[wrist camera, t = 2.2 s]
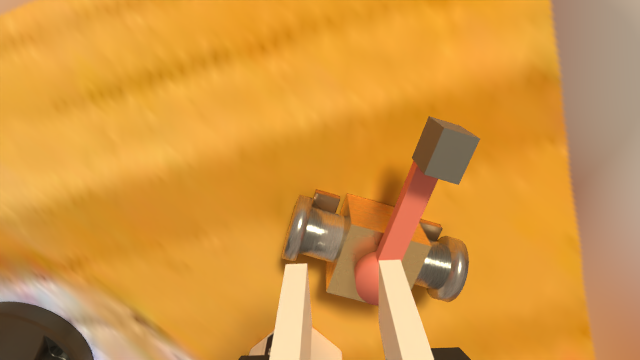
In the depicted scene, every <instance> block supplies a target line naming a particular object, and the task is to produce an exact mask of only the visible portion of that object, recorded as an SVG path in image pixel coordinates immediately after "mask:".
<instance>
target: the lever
mask: <svg viewBox="0 0 640 360" xmlns="http://www.w3.org/2000/svg"><path fill="white" fill-rule="evenodd" d="M479 140H480V138H478V137H476V136H475V135H473V134H472V133H470V132H469V131H467V130H466V129H464V128H463V127H461V126H459V125H455V124H452V123H449V122H446V121H442V120H439V119H436V118H433V117H430V116H429V117H428V120H427V122H426V125H425V127H424V130H423V132H422V135H421V137H420V139H419V142H418V144H417V147H416V149H415V152H414V154H413V157H412V159H413V160H414V161H413V164H412V166H411V169H410V171H409V173H408V176H407V178H406V181H405V183H404V186H403V188H402V190H401V193H400V195H399V198H398V200H397V203H396V205H395V207H394V210H393V212H392V215H391V217H390V220H389V222H388V225H387V227H386V229H385V232H384V234H383V237H382V239H381V242H380V244H379V246H378V249H377V251H376V252H372V253H369V254H367V255H365V256H363V257H362V258H361V259H360V260H359V261H358V262H357V264H356V266H355V270H354V275H355V283H356V290H357V293H358V295H359V296H360V297H361V299H363V300H364V301H365V302H367V303H369V304H372V305H379V260H401V262H402V259H403V257H404V255H405V253H406V250H407V248H408V246H409V243H410V241H411V239H412V237H413V234H414V232H415V230H416V228H417V225H418V223H419V221H420V219H421V216H422V214H423V212H424V210H425V207H426V205H427V203H428V201H429V198H430V196H431V194H432V192H433V189H434V187H435V185H436V183H437V180H438V179H441V180H444V181H448V182H451V183H454V184H458V185H459V183H460V181H461V179H462V176H463V174H464V172H465V170H466V168H467V166H468V164H469V161H470V159H471V157H472V155H473V153H474V151H475V149H476V146H477V144H478V142H479Z"/></svg>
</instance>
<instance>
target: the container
mask: <svg viewBox="0 0 640 360" xmlns="http://www.w3.org/2000/svg"><path fill="white" fill-rule="evenodd" d="M273 335H274V331H273V332H271V333H270V334H269V335H268V336H266V337H265V338H264V339H263V340H261V341H260V342H259V343H258V344H256V345H255V346H254V347H253V348H252V349H251V350H250V353H249V356H250V355H270V353H271V347H272V341H273ZM310 360H342V352H341V350H340V349H339V348H338V347H336V346H335V345H334V344H333V343H331V342H330V341H329V340H328V339H326V338H325V337H324V336H323V335H322V334H320V333H319V332H318V331H317V330H315V329H314V328H313V327H312V336H311V358H310Z"/></svg>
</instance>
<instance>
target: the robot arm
mask: <svg viewBox="0 0 640 360" xmlns="http://www.w3.org/2000/svg"><path fill="white" fill-rule="evenodd" d="M379 326H380V332H381V337H382V342H383V348H384V353H385V358H386V360H471V359H470V358H469V357H468V356H467V355H466V354H465V353H464V352H463V351H462V350H461V349H460V348H459V347H457V348H430V346H429V343H428V340H427V337H426V334H425V331H424V328H423V325H422V322H421V319H420V316H419V313H418V310H417V307H416V305H415V302H414V299H413V296H412V293H411V290H410V287H409V284H408V281H407V278H406V275H405V272H404V269H403V266H402V263H401V260H379ZM311 336H312V318H311V306H310V293H309V281H308V268H307V263H305V264H286V267H285V272H284V278H283V284H282V289H281V295H280V301H279V307H278V312H277V318H276V324H275V330H274V335H273V341H272V347H271V353H270V355H250V356H241V357H240V358H239V360H310V358H311ZM0 360H93V358H92V354H91V351H90V349H89V346H88V345H87V343H86V341H85V340H84V338H83V337H82V336H81V334H80V333H79V332H78V331H77V330H76V329H75V328H74V327H73V326H72V325H71V324H69V323H68V322H67V321H65V320H64V319H62V318H61V317H59V316H58V315H56V314H54V313H52V312H50V311H48V310H46V309H43V308H41V307H38V306H34V305H31V304H26V303H20V302H0Z"/></svg>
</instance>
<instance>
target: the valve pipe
mask: <svg viewBox="0 0 640 360" xmlns="http://www.w3.org/2000/svg"><path fill="white" fill-rule="evenodd" d="M339 201H340V196H338V195H334V194H331V193H327V192H324V191H320V190H316V192H315V195H314V198H313V201H312V198H309V197H306V196H302V195H299V197H298V199H297V202H296V205H295V208H294V211H293V215H292V218H291V221H290V225H289V228H288V232H287V236H286V240H285V244H284V248H283V253H282V258H283V259H287V260H290V261H294V262H295V261H296V259H297V257H298V254H303V255H307V256H310V257H314V258H318V259H322V260H325V261H326V292H327V293H331V294H335V295H339V296H343V297H346V298H350V299H354V300H358V301H362V302H365V301H364V300H363V299H361V297H360V296H359V295H358V293H357V290H356V283H355V275H354V270H355V266H356V264H357V262H358V261H359V260H360V259H361V258H362V257H363V256H365V255H367V254H369V253H372V252H376V251H377V249H378V246H379V244H380V242H381V239H382V237H383V234H384V232H385V229H386V227H387V225H388V222H389V220H390V217H391V215H392V212H393V210H394V206H390V205H387V204H383V203H380V202H376V201H373V200H369V199H366V198H362V197H359V196H355V195H352V194H348V193H347V195H346V198H345V201H344V204H343V206H342V209H341V212H340V215H338V214H335V212H336V210H337V207H338V204H339ZM442 229H443V228H442V227H441V225H440V224H436V223H433V222H429V221H426V220H422V219H420V221H419V223H418V225H417V228H416V230H415V232H414V234H413V237H412V239H411V241H410V243H409V246H408V248H407V250H406V253H405V255H404V257H403V259H402V262H401V263H402V266H403V269H404V272H405V275H406V278H407V281H408V284H409V287H410V290H411V289H412V287H413V285H414V284H415V285H419V286H423V287H426V288H427V291H428V294H429V295H430V296H431V297H432V298H434V299H438V300H442V301H446V302H450V301H452V300H454V299H455V298H456V297H457V296H458V295H459V293H460V292H461V290H462V288H463V286H464V284H465V281H466V277H467V273H468V265H469V259H468V252H467V248H466V246H465V244H464V243H463V242H462V241H461V240H459V239H455V238H451V237H448V236H444V237H441V238H440V239H439V240H438V241H437V239H438V237H439V235H440V233H441V231H442ZM436 241H437V242H436ZM366 303H367V302H366ZM377 306H379V305H377Z"/></svg>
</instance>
